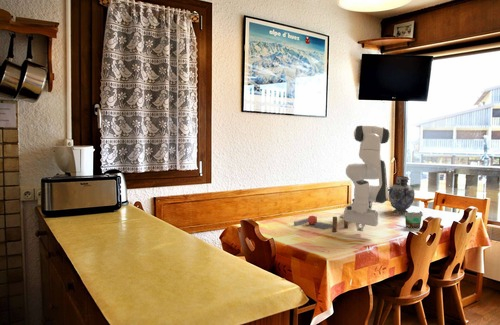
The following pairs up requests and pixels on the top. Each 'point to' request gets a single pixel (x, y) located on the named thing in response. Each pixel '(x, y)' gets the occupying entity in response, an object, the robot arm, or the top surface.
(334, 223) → the post
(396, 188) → the decorative vase
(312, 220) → the ball
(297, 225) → the stopper wall
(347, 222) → the post
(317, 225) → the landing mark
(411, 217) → the food container
